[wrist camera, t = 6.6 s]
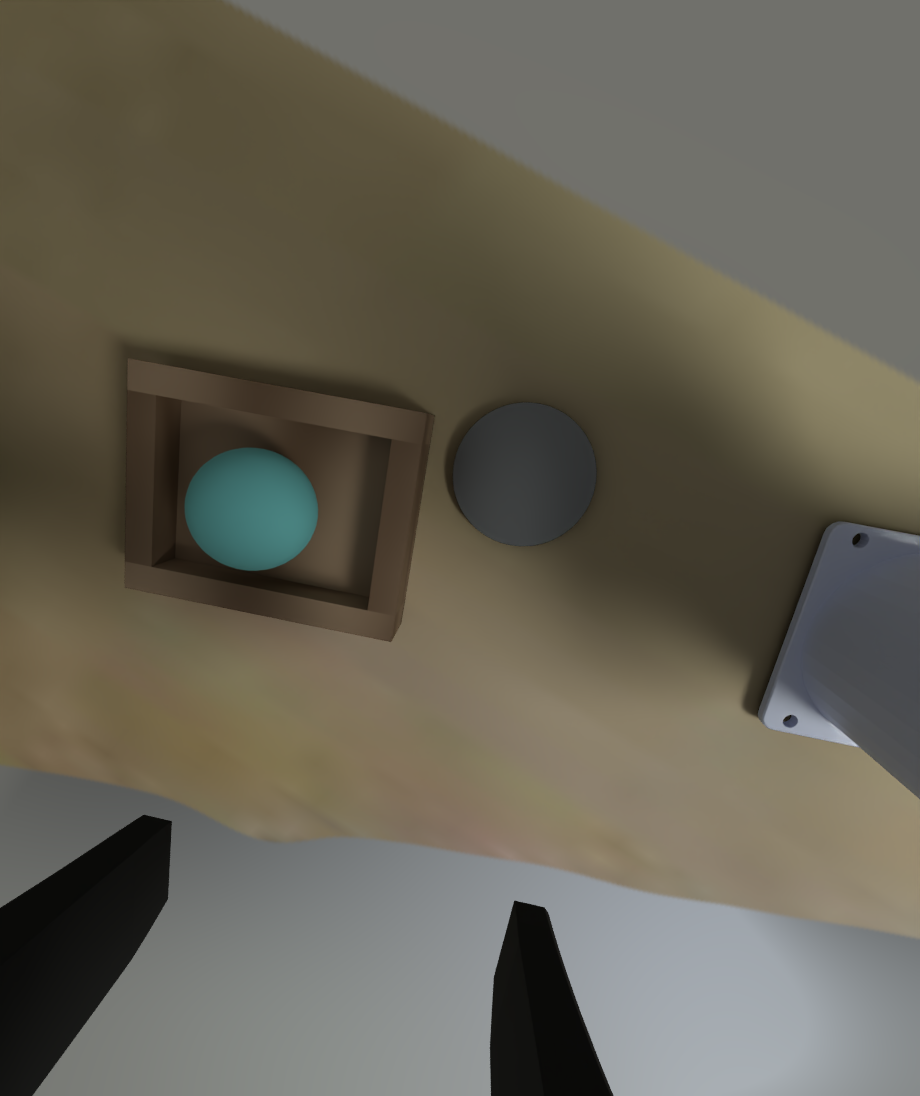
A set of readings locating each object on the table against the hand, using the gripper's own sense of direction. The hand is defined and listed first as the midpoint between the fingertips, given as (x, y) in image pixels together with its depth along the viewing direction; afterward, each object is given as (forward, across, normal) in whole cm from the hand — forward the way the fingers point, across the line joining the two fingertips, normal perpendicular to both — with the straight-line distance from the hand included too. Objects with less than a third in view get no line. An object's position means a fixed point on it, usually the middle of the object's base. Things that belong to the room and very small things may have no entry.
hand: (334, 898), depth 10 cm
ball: (+9, +6, -6) cm, 12 cm away
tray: (+10, +6, -6) cm, 13 cm away
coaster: (+10, -2, -8) cm, 13 cm away
